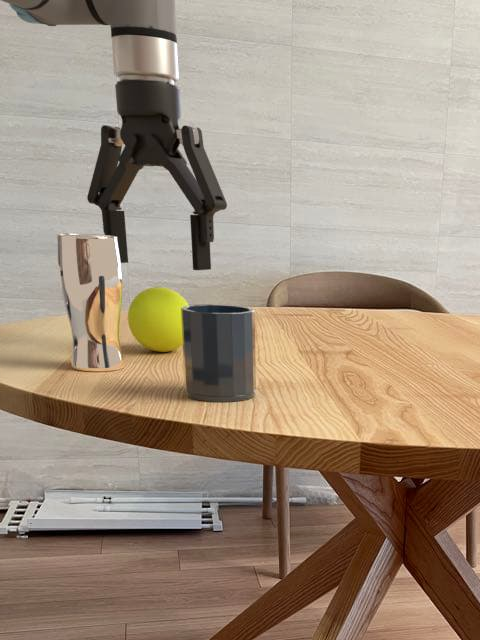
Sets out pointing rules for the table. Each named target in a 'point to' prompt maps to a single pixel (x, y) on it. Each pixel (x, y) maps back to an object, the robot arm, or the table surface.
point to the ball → (157, 319)
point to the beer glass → (92, 298)
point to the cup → (219, 352)
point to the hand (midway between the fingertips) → (159, 266)
